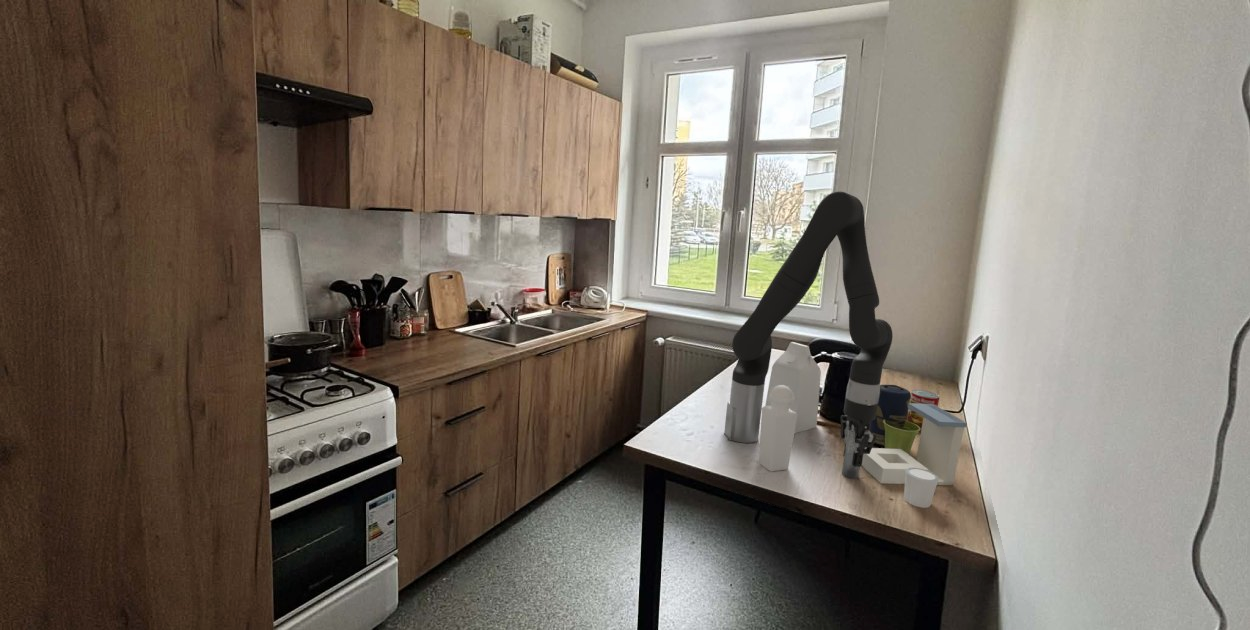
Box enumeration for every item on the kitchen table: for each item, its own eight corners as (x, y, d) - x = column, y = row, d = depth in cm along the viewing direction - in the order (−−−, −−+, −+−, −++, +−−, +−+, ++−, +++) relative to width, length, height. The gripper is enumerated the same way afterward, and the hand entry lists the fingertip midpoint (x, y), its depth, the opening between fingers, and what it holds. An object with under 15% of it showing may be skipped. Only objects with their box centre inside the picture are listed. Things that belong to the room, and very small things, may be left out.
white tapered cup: (902, 504, 124) (907, 476, 122) (899, 491, 130) (903, 464, 129) (936, 512, 121) (941, 483, 120) (930, 498, 128) (935, 471, 126)
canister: (899, 452, 152) (911, 392, 149) (864, 442, 157) (874, 384, 154) (903, 442, 160) (914, 385, 157) (869, 433, 165) (879, 377, 162)
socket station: (881, 484, 133) (892, 420, 130) (856, 460, 146) (865, 401, 142) (954, 486, 134) (966, 422, 131) (922, 462, 147) (933, 404, 144)
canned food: (901, 427, 173) (907, 392, 170) (911, 422, 178) (917, 388, 176) (927, 435, 167) (934, 399, 165) (936, 430, 172) (943, 395, 170)
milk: (816, 426, 168) (827, 347, 163) (793, 433, 162) (804, 350, 157) (785, 414, 178) (795, 338, 173) (762, 419, 171) (772, 341, 167)
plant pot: (904, 463, 145) (910, 433, 144) (871, 449, 153) (877, 421, 151) (920, 456, 151) (926, 427, 149) (888, 443, 158) (893, 416, 157)
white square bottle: (775, 459, 143) (785, 380, 139) (791, 470, 137) (801, 389, 133) (755, 461, 141) (764, 382, 137) (769, 473, 135) (780, 390, 131)
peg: (846, 478, 135) (853, 434, 132) (838, 471, 139) (845, 427, 136) (861, 479, 135) (868, 434, 133) (853, 471, 139) (860, 428, 137)
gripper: (834, 388, 140) (825, 449, 143) (861, 407, 126) (851, 475, 129) (861, 389, 140) (852, 450, 143) (892, 408, 126) (881, 475, 129)
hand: (852, 461), depth 136 cm, fingers closed on peg, 4 cm apart
